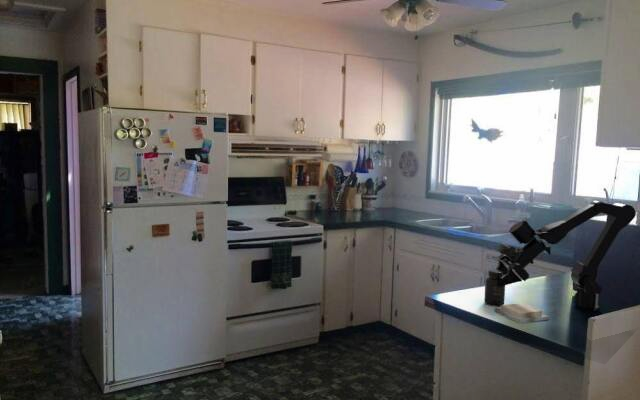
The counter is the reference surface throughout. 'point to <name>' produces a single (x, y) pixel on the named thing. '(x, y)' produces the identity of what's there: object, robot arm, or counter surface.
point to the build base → (520, 320)
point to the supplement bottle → (494, 288)
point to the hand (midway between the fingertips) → (494, 282)
